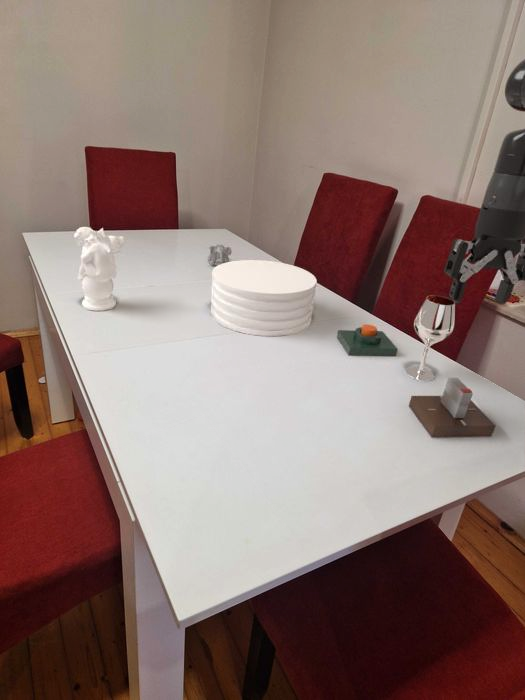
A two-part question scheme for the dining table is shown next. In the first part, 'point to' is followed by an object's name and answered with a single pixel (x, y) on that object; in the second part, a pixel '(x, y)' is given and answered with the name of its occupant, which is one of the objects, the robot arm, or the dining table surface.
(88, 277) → the cherub figurine
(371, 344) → the button box
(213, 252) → the elephant statuette
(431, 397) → the panel
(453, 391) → the tap knob
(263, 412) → the dining table surface
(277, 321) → the plate stack
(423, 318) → the wineglass
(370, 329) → the button
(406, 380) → the dining table surface
